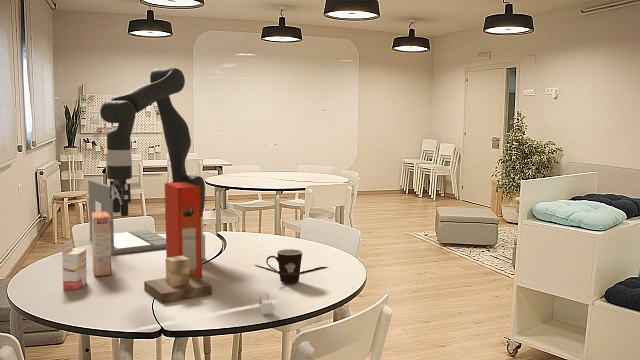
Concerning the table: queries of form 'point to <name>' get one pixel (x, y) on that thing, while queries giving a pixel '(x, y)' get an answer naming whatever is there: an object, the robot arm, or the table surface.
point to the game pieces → (265, 303)
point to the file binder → (184, 224)
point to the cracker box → (101, 243)
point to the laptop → (119, 241)
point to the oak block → (177, 271)
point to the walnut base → (177, 289)
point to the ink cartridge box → (73, 267)
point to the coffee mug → (288, 265)
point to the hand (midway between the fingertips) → (120, 214)
